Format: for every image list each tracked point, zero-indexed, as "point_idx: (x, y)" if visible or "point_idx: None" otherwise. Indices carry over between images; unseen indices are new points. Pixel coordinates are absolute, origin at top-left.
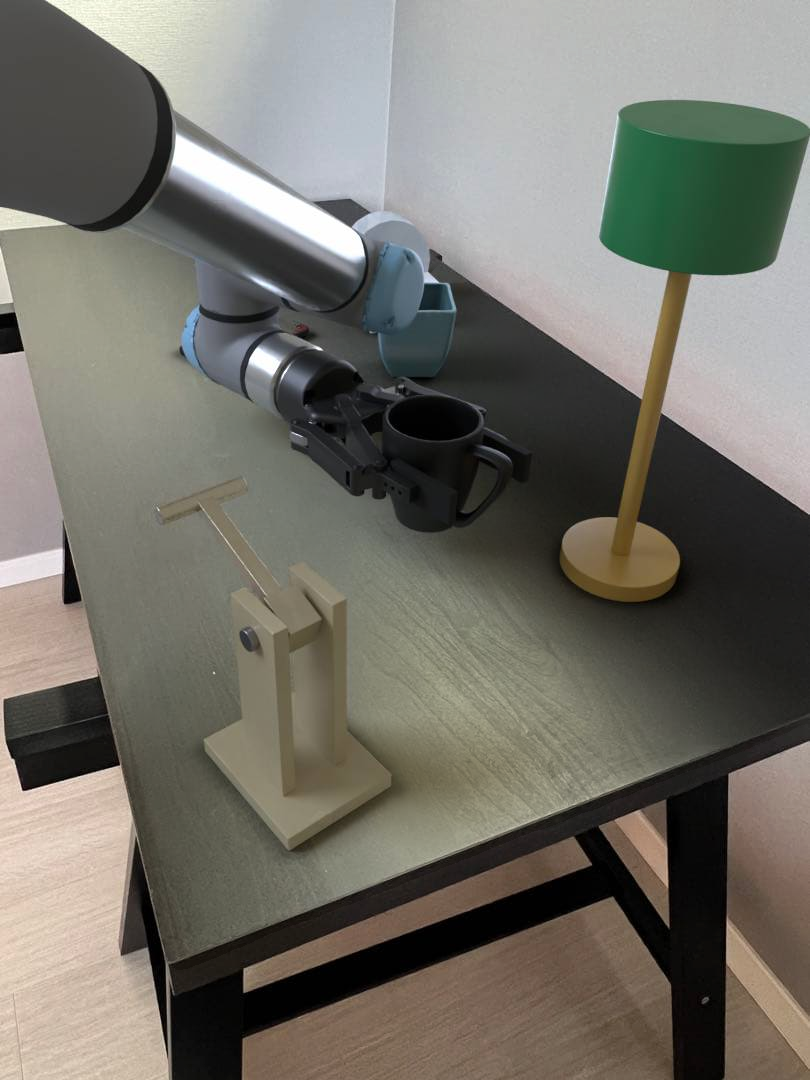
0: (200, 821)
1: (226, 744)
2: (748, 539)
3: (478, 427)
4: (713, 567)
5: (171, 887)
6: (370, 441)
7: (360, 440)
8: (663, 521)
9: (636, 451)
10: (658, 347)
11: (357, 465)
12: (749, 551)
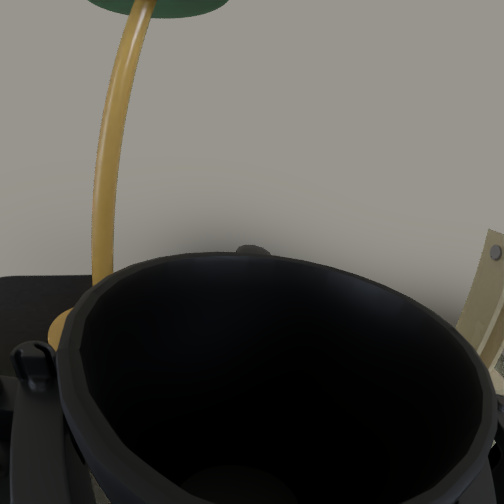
0: (498, 369)
1: (500, 379)
2: (33, 291)
3: (223, 252)
4: (76, 302)
5: (500, 355)
6: (467, 490)
7: (490, 502)
8: (21, 329)
9: (114, 201)
10: (134, 70)
11: (502, 398)
12: (48, 291)
